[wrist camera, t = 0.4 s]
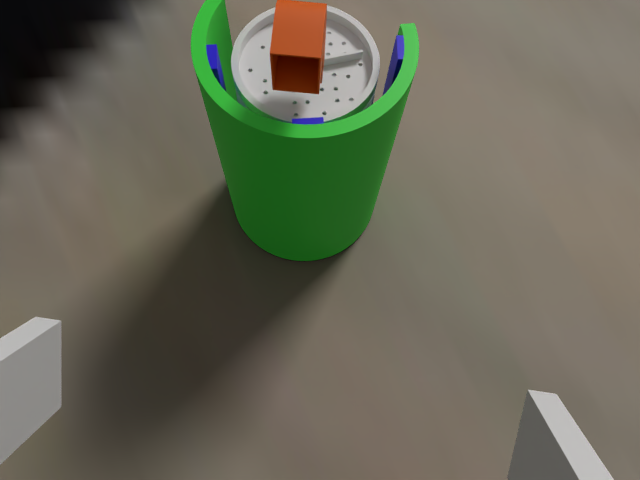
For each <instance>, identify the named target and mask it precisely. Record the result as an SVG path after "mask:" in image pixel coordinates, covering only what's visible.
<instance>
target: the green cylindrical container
mask: <svg viewBox="0 0 640 480" xmlns="http://www.w3.org/2000/svg"><path fill="white" fill-rule="evenodd" d="M191 54H192V60H193V65H194V68H195V72H196V75H197V79H198V83H199V86H200V90H201V93H202V97H203V100H204V104H205V107H206V111H207V115H208V118H209V122H210V125H211V129H212V132H213V136H214V139H215V143H216V147H217V150H218V154H219V157H220V161H221V164H222V168H223V171H224V175H225V179H226V182H227V186H228V189H229V193H230V196H231V200H232V203H233V207H234V211H235V214H236V217H237V220H238V222H239V224H240V226H241V227H242V229H243V230H244V232H245V233H246V235H247V236H248V237H249V238H250V239H251V240H252V241H253V242H254V243H255V244H256V245H258V246H259V247H260V248H262V249H263V250H265V251H267V252H269V253H271V254H273V255H275V256H278V257H281V258H284V259H289V260H295V261H313V260H319V259H324V258H327V257H330V256H333V255H335V254H337V253H339V252H341V251H343V250H344V249H346V248H347V247H349V246H350V245H351V244H353V243H354V242H355V241H356V240H357V239H358V238H359V237H360V235H361V234H362V233H363V231H364V230H365V228H366V227H367V225H368V223H369V221H370V218H371V215H372V212H373V209H374V206H375V202H376V199H377V196H378V192H379V189H380V186H381V183H382V179H383V176H384V173H385V170H386V166H387V163H388V160H389V156H390V153H391V150H392V147H393V143H394V140H395V137H396V133H397V130H398V127H399V124H400V120H401V117H402V114H403V110H404V107H405V104H406V101H407V97H408V94H409V91H410V87H411V84H412V81H413V78H414V74H415V71H416V68H417V63H418V57H419V40H418V34H417V30H416V26H415V23H410V24H400V28H399V32H398V35H397V36H396V40H395V44H394V49H393V53H392V57H391V61H390V66H389V70H388V74H387V79H386V83H385V87H384V92H383V96H382V97H381V98H380V99H379V100H378V101H376V102H375V103H374V104H373V99H374V94H375V88H376V85H377V80H378V75H379V69H380V59H379V53H378V49H377V46H376V44H375V42H374V40H373V38H372V36H371V35H370V33H369V32H368V31H367V29H366V28H365V27H364V26H363V25H362V24H361V23H360V22H359V21H357V20H356V19H355V18H353V17H352V16H350V15H349V14H347V13H345V12H343V11H341V10H339V9H336V8H334V7H331V6H327V4H323V3H312V2H302V1H291V0H277V3H276V7H275V8H272V9H270V10H267V11H265V12H263V13H262V14H260V15H258V16H257V17H255V18H254V19H253V20H252V21H250V22H249V23H248V24H247V25H246V26H245V27H244V29H243V30H242V31H241V33H240V34H239V36H238V37H237V39H236V41H235V44H234V47H232V41H231V35H230V29H229V24H228V18H227V12H226V6H225V0H206V1H205V2H204V4H203V5H202V7H201V9H200V11H199V13H198V15H197V17H196V20H195V23H194V26H193V30H192V36H191ZM372 104H373V105H372Z"/></svg>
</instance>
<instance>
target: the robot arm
mask: <svg viewBox="0 0 640 480" xmlns="http://www.w3.org/2000/svg"><path fill="white" fill-rule="evenodd" d="M60 408H61V321H60V320H53V319H46V318H40V317H35V318H33V319H31V320H30V321H28V322H26V323H25V324H23V325H21V326H20V327H18V328H16V329H15V330H13V331H11V332H10V333H8V334H7V335H5V336H3V337H2V338H0V464H1V463H2V462H4V461H5V460H6V459H7V458H8V457H9V456H10V455H11V454H12V453H13V452H14V451H15V450H16V449H17V448H18V447H19V446H20V445H21V444H23V443H24V442H25V441H26V440H27V439H28V438H29V437H30V436H31V435H32V434H33V433H34V432H35V431H36V430H37V429H38V428H39V427H41V426H42V425H43V424H44V423H45V422H46V421H47V420H48V419H49V418H50V417H51V416H52V415H53V414H54V413H55V412H56V411H57V410H59V409H60ZM507 478H508V480H614V479H613V478H612V476H611V475H610V473H609V472H608V470H607V469H606V467H605V466H604V464H603V463H602V461H601V460H600V458H599V457H598V455H597V454H596V452H595V451H594V449H593V448H592V446H591V445H590V443H589V442H588V440H587V439H586V437H585V436H584V434H583V433H582V431H581V430H580V428H579V427H578V425H577V424H576V423H575V421H574V420H573V418H572V417H571V415H570V414H569V412H568V411H567V409H566V408H565V406H564V405H563V403H562V402H561V400H560V399H559V397H558V396H557V394H554V393H547V392H540V391H533V390H527V394H526V399H525V403H524V407H523V412H522V416H521V420H520V425H519V429H518V433H517V438H516V442H515V446H514V451H513V455H512V459H511V464H510V468H509V472H508V477H507Z"/></svg>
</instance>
